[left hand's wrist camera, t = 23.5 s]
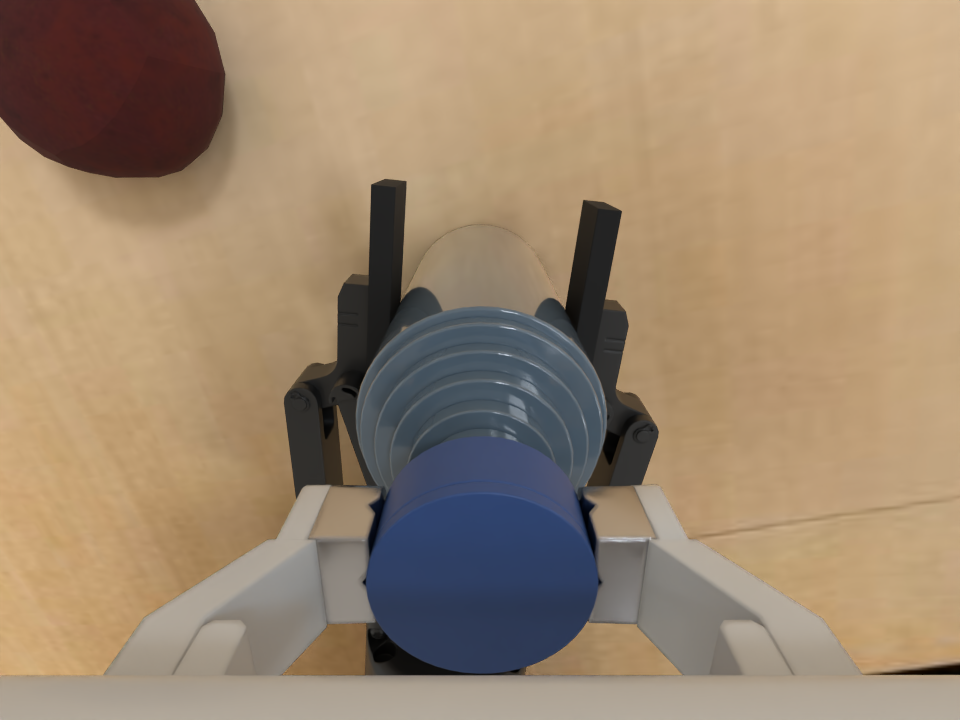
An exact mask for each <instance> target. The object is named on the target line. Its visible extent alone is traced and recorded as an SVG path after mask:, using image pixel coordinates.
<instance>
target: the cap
mask: <svg viewBox="0 0 960 720" xmlns="http://www.w3.org/2000/svg"><path fill="white" fill-rule="evenodd" d="M366 591H367V597H368V601H369V604H370V608H371V610H372V612H373V615H374V617H375V619H376V621H377V622H378V624H379V625H380V627H381V628H382V630H383V631H384V632H385V633H386V634H387V635H388V636H389V638H390V639H391V640H392V641H394V642H395V643H396V644H397V645H398V646H399V647H400V648H402V649H403V650H405V651H406V652H408V653H409V654H411V655H412V656H414V657H416V658H418V659H420V660H422V661H424V662H427V663H429V664H432V665H434V666H437V667H441V668H444V669H448V670H452V671H458V672H464V673H476V674H481V673H499V672H507V671H512V670H516V669H520V668H523V667H527V666H530V665H533V664H535V663H537V662H540V661H542V660H544V659H546V658H548V657H550V656H551V655H553V654H555V653H556V652H558V651H559V650H561V649H562V648H563V647H565V646H566V645H567V644H568V643H569V642H570V641H572V640H573V639H574V638H575V637H576V636H577V634H578V633H579V632H580V631H581V630H582V628H583V627H584V625H585V624H586V622H587V621H588V619H589V617H590V615H591V613H592V610H593V608H594V605H595V602H596V598H597V594H598V570H597V566H596V562H595V558H594V555H593V551H592V548H591V544H590V540H589V536H588V533H587V529H586V525H585V522H584V518H583V514H582V511H581V507H580V503H579V500H578V496H577V494H576V491H575V489H574V487H573V485H572V483H571V482H570V480H569V478H568V477H567V475H566V474H565V473H564V472H563V471H562V470H561V468H560V467H559V466H558V465H557V464H555V463H554V462H553V461H552V460H551V459H550V458H548V457H547V456H545V455H544V454H542V453H541V452H539V451H538V450H536V449H534V448H532V447H530V446H528V445H525V444H522V443H520V442H517V441H514V440H509V439H505V438H500V437H490V436H472V437H465V438H458V439H454V440H451V441H447V442H444V443H441V444H439V445H436V446H434V447H432V448H430V449H428V450H426V451H424V452H423V453H421V454H420V455H418V456H417V457H416V458H414V459H413V460H412V461H410V462H409V463H408V464H407V465H406V466H405V467H404V468H403V469H402V470H401V472H400V473H399V474H398V475H397V477H396V478H395V480H394V481H393V483H392V485H391V486H390V488H389V491H388V493H387V496H386V498H385V502H384V506H383V510H382V513H381V517H380V521H379V525H378V528H377V532H376V536H375V540H374V544H373V547H372V551H371V555H370V559H369V563H368V567H367V572H366Z"/></svg>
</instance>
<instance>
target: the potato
mask: <svg viewBox="0 0 960 720" xmlns="http://www.w3.org/2000/svg"><path fill="white" fill-rule="evenodd" d="M224 83H225V72H224V68H223V64H222V60H221V56H220V52H219V48H218V44H217V40H216V36H215V33H214V31H213V29H212V28H211V26H210V24H209V23H208V21H207V19H206V18H205V16H204V15H203V13H202V11H201V10H200V8H199V6H198V5H197V3H196V1H195V0H0V117H1V118H2V119H3V121H4V122H5V123H6V124H7V125H8V126H9V127H10V128H11V130H12V131H13V132H14V133H15V134H16V135H17V136H18V138H19V139H20V140H22V141H23V142H25V143H26V144H27V145H29V146H30V147H32V148H33V149H34V150H36V151H37V152H39V153H40V154H41V155H43V156H44V157H46V158H48V159H51V160H53V161H56V162H58V163H61V164H63V165H65V166H68V167H71V168H74V169H78V170H81V171H85V172H88V173H93V174H99V175H104V176H110V177H115V178H122V177H161V176H165V175H168V174H171V173H175V172H178V171H181V170H183V169H184V168H185V167H187V166H188V165H189V164H190V163H191V162H193V161H194V160H195V159H196V158H197V157H198V156H199V155H200V154H202V153H203V152H204V151H205V150H206V149H207V148H208V147H209V144H210V142H211V140H212V138H213V135H214V133H215V131H216V128H217V126H218V124H219V121H220V119H221V117H222V111H223V97H224Z"/></svg>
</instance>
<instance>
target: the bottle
mask: <svg viewBox="0 0 960 720" xmlns="http://www.w3.org/2000/svg"><path fill="white" fill-rule="evenodd" d="M606 428H607V408H606V401H605V395H604V392H603V388H602V385H601V382H600V380H599V377H598V375H597V373H596V371H595V369H594V367H593V365H592V363H591V361H590V359H589V357H588V355H587V353H586V351H585V349H584V347H583V345H582V343H581V341H580V339H579V337H578V335H577V333H576V331H575V329H574V327H573V325H572V323H571V321H570V319H569V317H568V315H567V313H566V311H565V309H564V307H563V305H562V303H561V301H560V299H559V297H558V295H557V293H556V291H555V289H554V287H553V285H552V283H551V281H550V279H549V277H548V275H547V273H546V271H545V269H544V267H543V265H542V263H541V261H540V259H539V258H538V256H537V255H536V253H535V252H534V250H533V249H532V248H531V247H530V246H529V244H527V243H526V242H525V241H524V240H523V239H522V238H520V237H519V236H517V235H516V234H514V233H512V232H510V231H508V230H506V229H503V228H500V227H496V226H491V225H470V226H465V227H461V228H458V229H456V230H453V231H451V232H449V233H447V234H445V235H444V236H443V237H441V238H440V239H438V240H437V241H436V242H435V243H434V244H433V245H432V246H431V247H430V248H429V250H428V251H427V252H426V253H425V255H424V257H423V258H422V260H421V262H420V264H419V266H418V268H417V270H416V272H415V274H414V276H413V278H412V280H411V282H410V284H409V286H408V289H407V291H406V293H405V295H404V297H403V299H402V301H401V303H400V305H399V307H398V309H397V311H396V313H395V315H394V317H393V319H392V321H391V323H390V325H389V327H388V329H387V331H386V333H385V335H384V337H383V339H382V341H381V344H380V346H379V348H378V350H377V352H376V354H375V356H374V358H373V360H372V362H371V364H370V366H369V368H368V370H367V372H366V375H365V377H364V379H363V381H362V384H361V387H360V391H359V394H358V398H357V405H356V431H357V437H358V442H359V445H360V448H361V451H362V455H363V457H364V459H365V462H366V465H367V468H368V470H369V472H370V474H371V476H372V478H373V480H374V481H375V483H376V484H377V486H384V487H385V489H386V494H387V493H388V491H389V488H390V486H391V485H392V483H393V481H394V480H395V478H396V477H397V475H398V474H399V473H400V472H401V470H402V469H403V468H404V467H405V466H406V465H407V464H408V463H409V462H410V461H412V460H413V459H414V458H416V457H417V456H418V455H420V454H421V453H423V452H424V451H426V450H428V449H430V448H432V447H434V446H436V445H439V444H441V443H444V442H447V441H451V440H454V439H458V438H465V437H472V436H490V437H500V438H505V439H509V440H514V441H517V442H520V443H522V444H525V445H528V446H530V447H532V448H534V449H536V450H538V451H539V452H541V453H542V454H544V455H545V456H547V457H548V458H550V459H551V460H552V461H553V462H554V463H555V464H557V465H558V466H559V467H560V468H561V470H562V471H563V472H564V473H565V474H566V475H567V477H568V478H569V480H570V482H571V483H572V485H573V487H574V489H575V491H576V494H577V492H578V488H579V487H584V486H585V485H586V483H587V482H588V480H589V479H590V477H591V475H592V473H593V471H594V469H595V466H596V464H597V461H598V458H599V456H600V453H601V450H602V447H603V444H604V441H605V434H606Z"/></svg>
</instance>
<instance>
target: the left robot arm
mask: <svg viewBox="0 0 960 720" xmlns="http://www.w3.org/2000/svg"><path fill="white" fill-rule="evenodd" d="M386 496H387V494H386V489H385V487H384V486H358V485H333V486H332V485H306V486H305V487H303V488H302V490H301V492H300V493H299V495H298V497H297V499H296V501H295V503H294V505H293V507H292V509H291V511H290V513H289V515H288V517H287V519H286V521H285V522H284V524H283V526H282V528H281V530H280V532H279V534H278V536H277V538H276V539H268V540H266V541H265V542H263V543H261V544H260V545H258V546H257V547H255V548H254V549H252V550H250V551H249V552H247V553H246V554H244V555H242V556H241V557H239V558H238V559H236V560H234V561H233V562H231V563H230V564H228V565H227V566H225V567H223V568H222V569H220V570H219V571H217V572H215V573H214V574H212V575H211V576H209V577H208V578H206V579H204V580H203V581H201V582H200V583H198V584H196V585H195V586H193V587H192V588H190V589H188V590H187V591H185V592H184V593H182V594H181V595H179V596H177V597H176V598H174V599H173V600H171V601H169V602H168V603H166V604H165V605H163V606H162V607H160V608H158V609H157V610H155V611H154V612H152V613H150V614H149V615H147V616H146V617H144V618H143V620H142V621H141V622H140V624H139V625H138V627H137V628H136V629H135V631H134V632H133V634H132V635H131V636H130V638H129V639H128V641H127V642H126V644H125V645H124V646H123V648H122V649H121V651H120V652H119V653H118V655H117V656H116V658H115V659H114V660H113V662H112V663H111V665H110V666H109V667H108V669H107V670H106V672H105V673H104V674H103V675H0V720H960V675H863V674H862V673H861V671H860V670H859V669H858V667H857V666H856V664H855V663H854V662H853V660H852V659H851V657H850V656H849V655H848V653H847V652H846V650H845V649H844V648H843V646H842V645H841V643H840V642H839V641H838V639H837V638H836V636H835V635H834V634H833V632H832V631H831V630H830V628H829V627H828V625H827V624H826V623H825V621H824V620H823V618H821V617H819V616H818V615H816V614H815V613H813V612H811V611H810V610H808V609H807V608H805V607H804V606H802V605H800V604H799V603H797V602H796V601H794V600H792V599H791V598H789V597H788V596H786V595H784V594H783V593H781V592H780V591H778V590H776V589H775V588H773V587H772V586H770V585H768V584H767V583H765V582H764V581H762V580H760V579H759V578H757V577H756V576H754V575H753V574H751V573H749V572H748V571H746V570H745V569H743V568H741V567H740V566H738V565H737V564H735V563H733V562H732V561H730V560H729V559H727V558H725V557H724V556H722V555H721V554H719V553H717V552H716V551H714V550H713V549H711V548H709V547H708V546H706V545H705V544H703V543H702V542H700V541H698V540H697V539H688V537H687V535H686V533H685V531H684V530H683V528H682V526H681V524H680V522H679V520H678V518H677V516H676V515H675V513H674V511H673V509H672V507H671V505H670V503H669V502H668V500H667V498H666V496H665V494H664V492H663V490H662V488H661V487H660V486H658V485H631V486H595V487H579V488H578V492H577V496H578V500H579V503H580V507H581V511H582V514H583V518H584V522H585V525H586V529H587V533H588V536H589V540H590V544H591V548H592V551H593V555H594V558H595V562H596V566H597V570H598V594H597V598H596V602H595V605H594V608H593V610H592V613H591V615H590V617H589V619H588V621H589V623H615V624H637V627H638V628H639V629H640V630H641V631H642V632H643V633H644V634H645V635H646V636H647V637H648V638H649V640H650V641H651V642H652V643H653V644H654V645H655V646H656V647H657V648H658V649H659V650H660V651H661V652H662V653H663V654H664V655H665V656H666V657H667V658H668V660H669V661H670V662H671V663H672V664H673V665H674V666H675V667H676V668H677V669H678V670H679V671H680V672H681V673H682V674H683V675H282V674H283V673H284V672H285V671H286V670H287V669H288V668H289V667H290V666H291V665H292V663H293V662H294V661H295V660H296V659H297V658H298V657H299V656H300V655H301V654H302V653H303V652H304V651H305V650H306V649H307V648H308V647H309V645H310V644H311V643H312V642H313V641H314V640H315V639H316V638H317V637H318V636H319V635H320V634H321V633H322V632H323V631H324V630H325V629H326V627H327V624H348V623H375V622H376V619H375V617H374V615H373V612H372V610H371V608H370V604H369V601H368V597H367V591H366V572H367V567H368V563H369V559H370V555H371V551H372V547H373V544H374V540H375V536H376V532H377V528H378V525H379V521H380V517H381V513H382V510H383V506H384V502H385V498H386Z"/></svg>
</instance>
